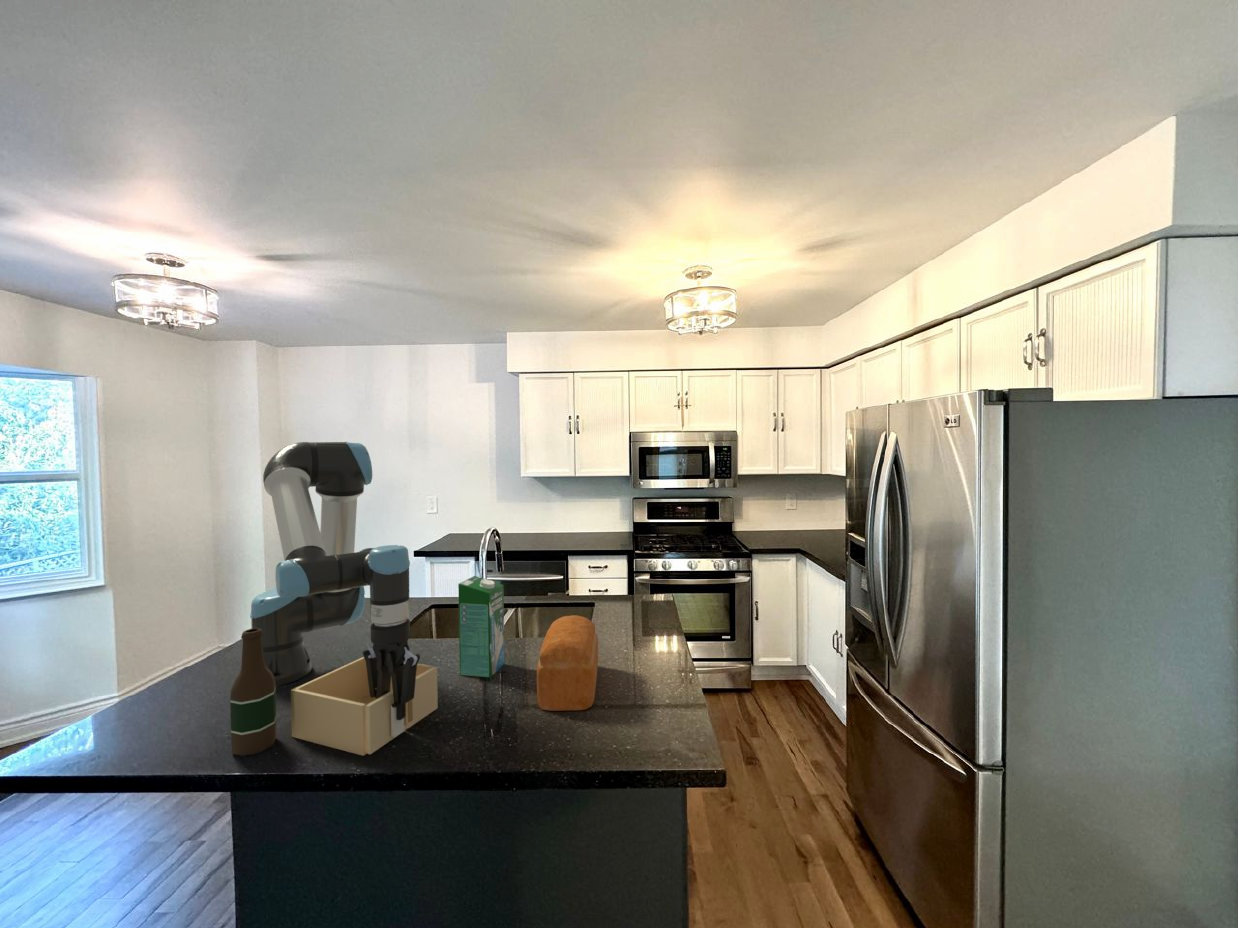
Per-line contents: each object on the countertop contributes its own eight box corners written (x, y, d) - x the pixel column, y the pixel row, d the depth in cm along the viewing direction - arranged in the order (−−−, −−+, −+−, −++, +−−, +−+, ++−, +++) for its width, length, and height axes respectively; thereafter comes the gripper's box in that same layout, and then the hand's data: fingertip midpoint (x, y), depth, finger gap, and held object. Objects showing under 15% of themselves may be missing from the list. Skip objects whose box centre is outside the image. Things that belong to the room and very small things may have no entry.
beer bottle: (247, 736, 107) (244, 624, 107) (285, 734, 108) (283, 623, 108) (221, 758, 100) (218, 637, 99) (263, 756, 100) (260, 636, 100)
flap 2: (404, 727, 110) (403, 683, 109) (434, 707, 118) (433, 666, 118) (408, 728, 109) (407, 684, 109) (438, 708, 118) (437, 667, 118)
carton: (291, 736, 107) (290, 690, 107) (368, 694, 126) (367, 654, 126) (363, 755, 100) (362, 705, 100) (433, 707, 119) (432, 665, 119)
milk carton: (490, 677, 135) (489, 584, 134) (459, 675, 137) (458, 583, 136) (504, 663, 144) (503, 576, 143) (475, 661, 146) (474, 575, 145)
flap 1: (366, 753, 100) (365, 705, 100) (402, 729, 109) (401, 685, 109) (371, 754, 100) (370, 706, 100) (406, 730, 109) (405, 685, 108)
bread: (599, 664, 143) (598, 609, 143) (594, 712, 117) (593, 644, 116) (550, 665, 143) (549, 609, 143) (534, 712, 117) (533, 644, 116)
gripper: (347, 622, 105) (350, 734, 105) (405, 630, 99) (407, 749, 100) (376, 611, 112) (378, 717, 112) (432, 619, 106) (434, 729, 107)
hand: (392, 732), depth 106 cm, fingers open, 2 cm apart
